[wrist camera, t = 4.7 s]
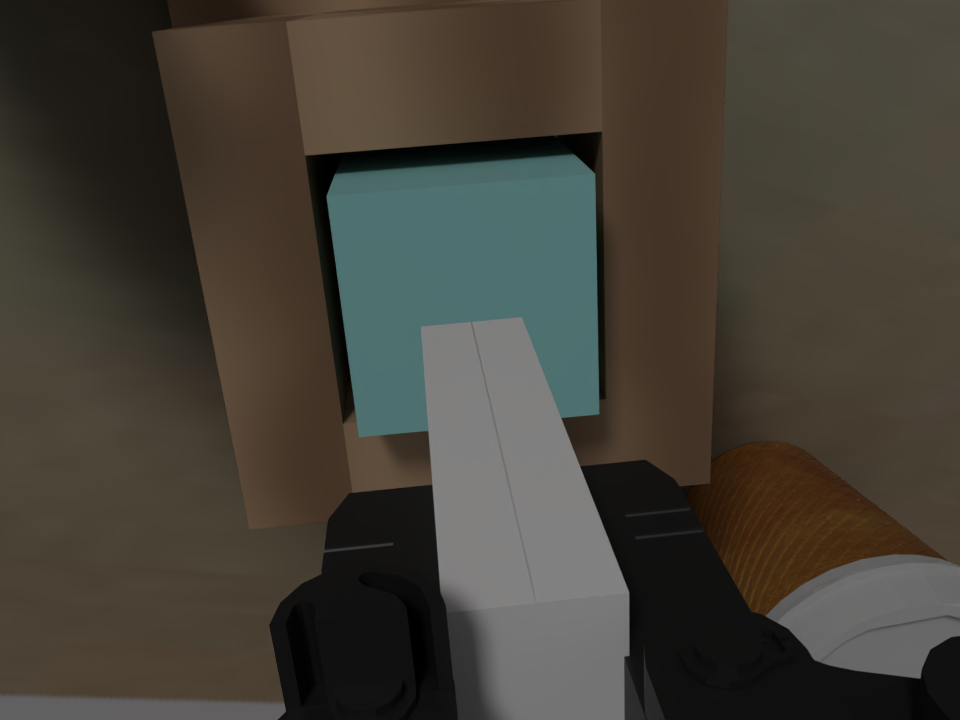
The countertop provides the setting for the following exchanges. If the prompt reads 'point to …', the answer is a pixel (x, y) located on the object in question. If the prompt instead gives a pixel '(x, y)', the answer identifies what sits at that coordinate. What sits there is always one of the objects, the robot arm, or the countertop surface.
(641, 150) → the chute
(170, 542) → the countertop surface
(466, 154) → the block
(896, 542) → the disposable coffee cup
